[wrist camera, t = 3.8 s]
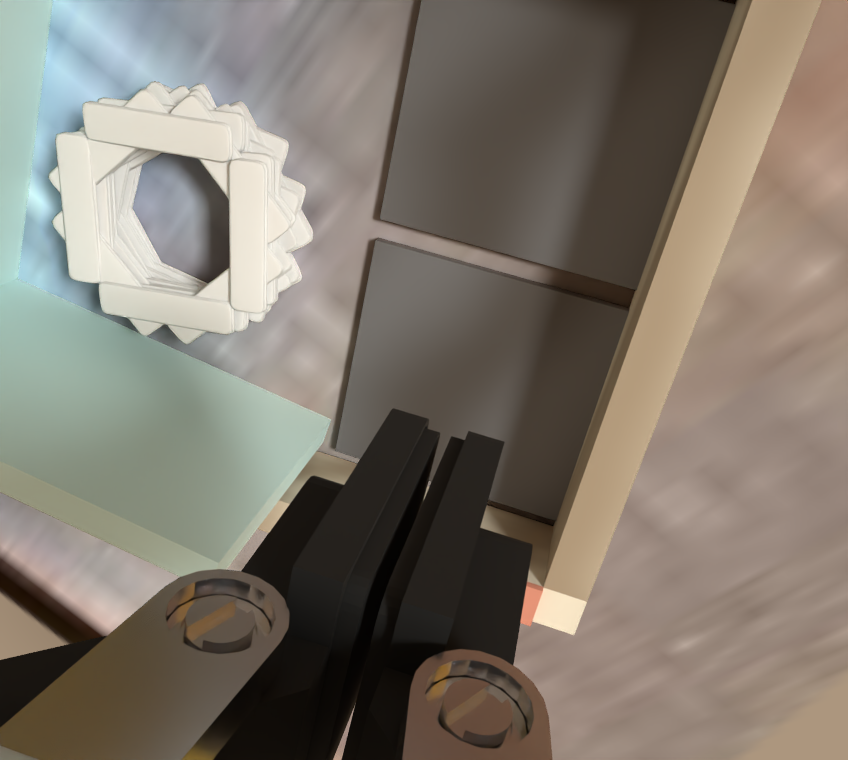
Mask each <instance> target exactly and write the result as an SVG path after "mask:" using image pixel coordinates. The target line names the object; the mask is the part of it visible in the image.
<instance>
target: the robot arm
mask: <svg viewBox="0 0 848 760" xmlns="http://www.w3.org/2000/svg"><path fill="white" fill-rule="evenodd" d="M428 425H429V419H428V418H424V417H421V416H418V415H414V414H411V413H408V412H404V411H401V410H398V409H394V408H393V409H392V410H391V411H390V413H389V414H388V416H387V417H386V419H385V421H384V422H383V424H382V425H381V427H380V429H379V430H378V432H377V433H376V435H375V437H374V438H373V440H372V441H371V443H370V444H369V446H368V448H367V449H366V451H365V452H364V454H363V456H362V457H361V459H360V460H359V462H358V464H357V465H356V467H355V468H354V470H353V471H352V473H351V475H350V476H349V478H348V479H347V481H346V483H345V484H344V485H343V484H340V483H337V482H334V481H331V480H327V479H324V478H321V477H318V476H315V475H314V476H311V477H310V478H309V479H308V480H307V481H306V482H305V484H304V485H303V487H302V488H301V489H300V491H299V492H298V493H297V495H296V496H295V498H294V499H293V500H292V502H291V503H290V505H289V506H288V507H287V509H286V510H285V511H284V513H283V514H282V516H281V517H280V518H279V520H278V521H277V522H276V524H275V525H274V527H273V528H272V529H271V531H270V532H269V534H268V535H267V536H266V538H265V539H264V540H263V542H262V543H261V545H260V546H259V547H258V549H257V550H256V552H255V553H254V554H253V556H252V557H251V558H250V560H249V561H248V563H247V564H246V565H245V567H244V568H243V569H242V571H234V570H225V569H214V570H203V571H197V572H194V573H191V574H188V575H185V576H182V577H179V578H178V579H176V580H175V581H173V582H171V583H170V584H168V585H167V586H165V587H164V588H163V589H162V590H160V591H159V592H158V593H157V594H156V595H155V596H153V597H152V598H151V599H150V600H149V601H148V602H146V603H145V604H144V605H143V606H142V607H141V608H139V609H138V610H137V611H136V612H135V613H134V614H132V615H131V616H130V617H129V618H128V619H127V620H125V621H124V622H123V623H122V624H121V625H120V626H118V627H117V628H116V629H115V630H114V631H113V632H111V633H110V634H109V635H108V636H104V637H99V638H95V639H90V640H86V641H82V642H77V643H73V644H69V645H64V646H60V647H55V648H51V649H47V650H42V651H38V652H33V653H29V654H25V655H20V656H16V657H12V658H7V659H3V660H0V760H333V758H334V756H335V753H336V751H337V748H338V746H339V743H340V741H341V738H342V736H343V733H344V731H345V728H346V726H347V723H348V721H349V718H350V716H351V713H352V711H353V708H354V706H355V708H354V712H353V716H352V720H351V724H350V728H349V732H348V736H347V741H346V745H345V749H344V753H343V757H342V760H552V749H551V737H550V726H549V716H548V713H547V709H546V705H545V702H544V699H543V697H542V696H541V694H540V692H539V691H538V689H537V688H536V686H535V685H534V683H533V682H532V681H531V680H530V679H529V678H528V677H527V676H526V675H525V674H523V673H522V672H521V671H520V670H519V669H518V668H516V667H515V666H513V663H514V657H515V651H516V645H517V639H518V633H519V627H520V621H521V615H522V609H523V603H524V597H525V591H526V585H527V579H528V573H529V567H530V562H531V556H532V548H533V545H532V544H531V543H527V542H524V541H521V540H518V539H515V538H512V537H508V536H505V535H502V534H499V533H496V532H493V531H489V530H486V529H483V528H480V527H481V523H482V520H483V516H484V513H485V509H486V506H487V502H488V499H489V495H490V492H491V488H492V485H493V481H494V478H495V474H496V471H497V467H498V464H499V460H500V457H501V453H502V450H503V446H504V443H505V442H504V441H501V440H497V439H494V438H491V437H487V436H484V435H481V434H477V433H474V432H471V431H468V433H467V436H466V438H465V440H463V439H460V438H457V437H453V436H451V438H450V440H449V442H448V445H447V447H446V449H445V452H444V454H443V456H442V459H441V461H440V463H439V466H438V468H437V470H436V473H435V475H434V477H433V480H432V482H431V484H430V487H429V489H428V491H427V494H426V496H425V493H426V489H427V485H428V481H429V477H430V473H431V469H432V465H433V462H434V458H435V454H436V450H437V446H438V442H439V438H440V432H437V431H433V430H430V429H428ZM424 496H425V498H424ZM423 500H424V501H423ZM355 703H356V704H355Z"/></svg>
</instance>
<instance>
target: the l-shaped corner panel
mask: <svg viewBox="0 0 848 760" xmlns="http://www.w3.org/2000/svg"><path fill="white" fill-rule="evenodd" d="M52 3H53V0H0V492H1V493H3V494H5V495H7V496H9V497H11V498H14V499H16V500H18V501H20V502H22V503H24V504H26V505H28V506H31V507H33V508H35V509H37V510H39V511H41V512H43V513H45V514H48V515H50V516H52V517H54V518H56V519H58V520H60V521H62V522H65V523H67V524H69V525H71V526H73V527H75V528H77V529H80V530H82V531H84V532H86V533H88V534H90V535H92V536H94V537H97V538H99V539H101V540H103V541H105V542H107V543H109V544H111V545H114V546H116V547H118V548H120V549H122V550H124V551H126V552H128V553H131V554H133V555H135V556H137V557H139V558H141V559H143V560H145V561H148V562H150V563H152V564H154V565H156V566H158V567H160V568H162V569H165V570H167V571H169V572H171V573H173V574H175V575H177V576H179V577H182V576H185V575H188V574H191V573H194V572H197V571H203V570H214V569H225V570H226V569H227V568H228V567H229V565H230V564H231V563H232V561H233V560H234V559H235V558H236V556H237V555H238V554H239V552H240V551H241V550H242V548H243V547H244V546H245V544H246V543H247V542H248V540H249V539H250V538H251V536H252V535H253V534H254V533H255V531H256V530H257V529H258V527H259V526H260V525H261V523H262V522H263V521H264V519H265V518H266V517H267V515H268V514H269V513H270V511H271V510H272V509H273V508H274V506H275V505H276V504H277V502H278V501H279V500H280V498H281V497H282V496H283V494H284V493H285V492H286V490H287V489H288V488H289V486H290V485H291V484H292V483H293V481H294V480H295V479H296V477H297V476H298V475H299V473H300V472H301V471H302V469H303V468H304V467H305V465H306V464H307V463H308V461H309V460H310V459H311V458H312V456H313V455H314V454H315V452H316V451H317V450H318V448H319V447H320V446H321V444H322V443H323V441H324V438H325V436H326V433H327V430H328V427H329V424H330V421H331V419H329V418H327V417H325V416H322V415H320V414H318V413H316V412H314V411H311V410H309V409H307V408H305V407H302V406H300V405H298V404H296V403H294V402H291V401H289V400H287V399H285V398H282V397H280V396H278V395H276V394H274V393H271V392H269V391H267V390H265V389H262V388H260V387H258V386H256V385H254V384H251V383H249V382H247V381H245V380H242V379H240V378H238V377H236V376H234V375H231V374H229V373H227V372H225V371H222V370H220V369H218V368H216V367H214V366H211V365H209V364H207V363H205V362H202V361H200V360H198V359H196V358H194V357H191V356H189V355H187V354H185V353H182V352H180V351H178V350H176V349H174V348H171V347H169V346H167V345H165V344H162V343H160V342H158V341H156V340H154V339H151V338H149V337H147V336H148V335H150V334H151V333H153V332H154V331H156V330H157V329H158V328H160V327H161V326H162V325H164V324H166V325H168V327H169V328H170V329H171V330H172V331H173V333H174V334H175V335H176V336H177V337H178V338H179V339H180V340H181V341H182V342H183V343H184V344H190V343H192V342H193V341H194V340H196V339H197V338H198V337H200V336H202V335H203V334H204V333H206V332H212V333H218V334H224V335H228V334H231V333H234V331H235V332H241V331H244V330H245V329H246V328H247V327H248V323H249V320H251V321H253V322H257V323H260V322H261V321H263V320H264V317H265V314H266V313H268V312H269V311H270V310H271V307H272V305H274V304H275V302H276V301H277V300H278V293H280V292H282V291H284V290H286V289H288V288H289V287H290V286H292V285H294V284H296V283H298V282H299V281H301V279H302V275H301V271H300V269H299V267H298V265H297V263H296V261H295V259H294V257H293V255H292V254H291V252H293V251H295V250H297V249H299V248H301V247H303V246H305V245H307V244H309V243H310V242H311V241H312V240H313V239H312V238H313V230H312V228H311V226H310V224H309V222H308V221H307V219H306V217H305V215H304V213H303V211H302V209H301V207H302V204H303V200H304V197H305V194H306V189H305V186H304V185H302V184H301V183H299V182H297V181H295V180H293V179H290V178H288V177H286V176H283V174H282V172H281V170H282V168H283V165H284V162H285V159H286V156H287V153H288V148H289V143H288V142H287V140H285V139H283V138H281V137H279V136H277V135H274V134H272V133H270V132H268V131H265V130H263V129H261V128H259V127H257V125H256V123H255V121H254V119H253V117H252V116H251V114H250V112H249V110H248V108H247V107H246V105H245V104H244V103H242V102H241V101H239V102H235V103H233V104H231V105H228V104H224V105H221V106H219V107H216V105H215V103H214V101H213V98H212V96H211V94H210V92H209V90H208V89H207V87H206V86H205V84H201V83H199V84H197V85H195V86H194V87H192V88H190V89H187V88H186V87H185V86H179V87H177V88H176V89H171V88H169V87H167V86H165V85H163V84H161V83H160V82H156V81H154V82H151V83H150V84H149V85H148V86H147V87H146V88H145V89H140V91H139V92H138V93H136V94H135V95H134V96H133V97H132V98H131V99H130V100H122V99H113V98H104V97H103V98H100V99H98V102H93V101H89V102H85V103H83V110H82V111H83V119H84V127H82V128H80V129H79V131H77V132H71V133H70V132H64V133H60V134H57V135H56V139H55V142H56V152H57V162H58V166H57V167H55V168H54V169H53V170H52V171H51V172H50V173H49V176H48V178H49V179H50V181H51V182H52V184H53V185H54V186H55V187H56V189H57V190H58V191H59V192H60V193H61V202H62V211H61V212H59V213H58V214H57V215H56V216H55V217H54V219H53V221H52V224H53V226H54V228H55V229H56V230H57V232H58V233H59V234H60V235H61V237H62V238H63V239H64V240H65V242H66V251H67V261H68V271H69V276H70V278H71V279H73V280H76V281H81V282H88V283H100V284H99V296H100V303H101V307H102V310H103V312H104V313H106V314H109V315H115V316H120V317H126V318H128V319H129V320H130V321H131V323H132V324H133V325H134V326H135V328H136V329H137V330H138V331H139V333H138V332H136V331H134V330H131V329H129V328H127V327H125V326H123V325H120V324H118V323H116V322H114V321H111V320H109V319H107V318H105V317H103V316H100V315H98V314H96V313H94V312H91V311H89V310H87V309H85V308H83V307H80V306H78V305H76V304H74V303H71V302H69V301H67V300H65V299H63V298H60V297H58V296H56V295H54V294H51V293H49V292H47V291H45V290H43V289H40V288H38V287H36V286H34V285H31V284H29V283H27V282H25V281H23V280H20V279H18V273H19V265H20V257H21V249H22V241H23V233H24V225H25V217H26V209H27V201H28V194H29V186H30V178H31V170H32V162H33V154H34V146H35V138H36V130H37V122H38V114H39V106H40V98H41V90H42V82H43V74H44V66H45V58H46V50H47V43H48V35H49V27H50V19H51V11H52ZM161 153H169V154H175V155H181V156H187V157H193V158H198V159H199V160H200V162H201V163H202V164H203V166H204V167H205V168H206V170H207V171H208V172H209V174H210V175H211V176H212V178H213V179H214V180H215V182H216V183H217V184H218V185H219V187H220V188H221V189H222V191H223V192H224V193H225V195H226V196H227V197H228V199H229V253H230V267H229V268H228V269H226V270H225V271H224V272H223V273H221V274H220V275H219V276H218V277H216V278H215V279H214V280H212V281H211V282H210V283H206V282H204V281H202V280H200V279H197V278H195V277H193V276H191V275H189V274H186V273H184V272H182V271H180V270H178V269H175V268H173V267H171V266H169V265H167V264H165V263H162V262H161V260H160V259H159V257H158V255H157V253H156V251H155V249H154V247H153V246H152V244H151V242H150V240H149V238H148V236H147V234H146V233H145V231H144V229H143V227H142V225H141V223H140V221H139V220H138V218H137V216H136V214H135V212H134V210H133V209H132V207H133V203H134V199H135V194H136V190H137V186H138V182H139V177H140V173H141V169H142V165H143V164H144V163H145V162H147V161H149V160H151V159H153V158H154V157H156V156H158V155H160V154H161Z"/></svg>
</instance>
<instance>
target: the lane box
mask: <svg viewBox="0 0 848 760" xmlns="http://www.w3.org/2000/svg"><path fill="white" fill-rule="evenodd" d="M821 1H822V0H736V3H735V4H731V3H727V2H723V1H718V0H421V6H420V11H419V16H418V21H417V26H416V32H415V37H414V42H413V47H412V53H411V58H410V63H409V68H408V73H407V79H406V84H405V89H404V94H403V100H402V105H401V110H400V115H399V121H398V126H397V131H396V136H395V141H394V147H393V152H392V157H391V162H390V168H389V173H388V178H387V183H386V188H385V194H384V199H383V204H382V209H381V215H380V219H382V220H385V221H389V222H392V223H396V224H400V225H403V226H407V227H410V228H414V229H418V230H421V231H425V232H428V233H432V234H436V235H439V236H443V237H446V238H450V239H454V240H457V241H461V242H464V243H468V244H472V245H475V246H479V247H482V248H486V249H490V250H493V251H497V252H500V253H504V254H508V255H511V256H515V257H518V258H522V259H526V260H529V261H533V262H536V263H540V264H544V265H547V266H551V267H554V268H558V269H562V270H565V271H569V272H572V273H576V274H580V275H583V276H587V277H590V278H594V279H598V280H601V281H605V282H608V283H612V284H616V285H619V286H623V287H626V288H630V289H634V290H635V293H634V296H633V299H632V302H631V305H630V308H627V307H623V306H620V305H616V304H613V303H609V302H606V301H602V300H598V299H595V298H591V297H588V296H584V295H581V294H577V293H574V292H570V291H566V290H563V289H559V288H556V287H552V286H549V285H545V284H541V283H538V282H534V281H531V280H527V279H524V278H520V277H517V276H513V275H509V274H506V273H502V272H499V271H495V270H492V269H488V268H484V267H481V266H477V265H474V264H470V263H467V262H463V261H460V260H456V259H452V258H449V257H445V256H442V255H438V254H435V253H431V252H427V251H424V250H420V249H417V248H413V247H410V246H406V245H403V244H399V243H395V242H392V241H388V240H385V239H381V238H378V239H377V240H376V241H375V246H374V251H373V256H372V262H371V267H370V272H369V277H368V283H367V288H366V293H365V298H364V304H363V309H362V314H361V319H360V324H359V330H358V335H357V340H356V345H355V351H354V356H353V361H352V366H351V371H350V377H349V382H348V387H347V392H346V398H345V403H344V408H343V413H342V419H341V424H340V429H339V434H338V439H337V445H336V450H335V451H337V452H340V453H343V454H346V455H350V456H353V457H356V458H359V459H361V457H362V456H363V454H364V452H365V451H366V449H367V448H368V446H369V444H370V443H371V441H372V440H373V438H374V437H375V435H376V433H377V432H378V430H379V429H380V427H381V425H382V424H383V422H384V421H385V419H386V417H387V416H388V414H389V413H390V411H391V410H392V409H393V408H394V409H398V410H401V411H404V412H408V413H411V414H414V415H418V416H421V417H424V418H428V419H429V425H428V429H430V430H433V431H437V432H440V438H439V442H438V446H437V450H436V454H435V458H434V462H433V465H432V469H431V473H430V477H429V481H431V482H432V480H433V477H434V475H435V473H436V470H437V468H438V466H439V463H440V461H441V459H442V456H443V454H444V452H445V449H446V447H447V445H448V442H449V440H450V438H451V436H453V437H457V438H460V439H463V440H465V438H466V436H467V433H468V431H471V432H474V433H477V434H481V435H484V436H487V437H491V438H494V439H497V440H501V441H504V442H505V443H504V446H503V450H502V453H501V457H500V460H499V464H498V467H497V471H496V474H495V478H494V481H493V485H492V488H491V492H490V495H489V499H488V500H491V501H494V502H497V503H501V504H504V505H507V506H510V507H513V508H516V509H519V510H523V511H526V512H529V513H532V514H535V515H538V516H541V517H545V518H548V519H551V520H554V521H555V523H554V526H551V525H547V524H544V523H541V522H538V521H535V520H532V519H529V518H525V517H522V516H519V515H516V514H513V513H510V512H507V511H503V510H500V509H497V508H494V507H491V506H488V505H487V506H486V509H485V513H484V516H483V520H482V523H481V527H480V528H483V529H486V530H489V531H493V532H496V533H499V534H502V535H505V536H508V537H512V538H515V539H518V540H521V541H524V542H527V543H531V544H532V545H533V548H532V556H531V562H530V567H529V573H528V579H527V585H526V591H525V597H524V603H523V609H522V615H521V621H520V623H522V624H525V625H528V626H531V623H532V621H533V622H536V623H539V624H542V625H545V626H548V627H551V628H554V629H557V630H560V631H563V632H566V633H569V634H572V635H574V634H575V631H576V629H577V626H578V623H579V621H580V618H581V616H582V613H583V611H584V608H585V605H586V603H587V600H588V598H589V595H590V593H591V590H592V588H593V585H594V582H595V580H596V577H597V575H598V572H599V570H600V567H601V565H602V562H603V559H604V557H605V554H606V552H607V549H608V547H609V544H610V541H611V539H612V536H613V534H614V531H615V529H616V526H617V524H618V521H619V518H620V516H621V513H622V511H623V508H624V506H625V503H626V500H627V498H628V495H629V493H630V490H631V488H632V485H633V483H634V480H635V477H636V475H637V472H638V470H639V467H640V465H641V462H642V460H643V457H644V454H645V452H646V449H647V447H648V444H649V442H650V439H651V436H652V434H653V431H654V429H655V426H656V424H657V421H658V419H659V416H660V413H661V411H662V408H663V406H664V403H665V401H666V398H667V395H668V393H669V390H670V388H671V385H672V383H673V380H674V378H675V375H676V372H677V370H678V367H679V365H680V362H681V360H682V357H683V355H684V352H685V349H686V347H687V344H688V342H689V339H690V337H691V334H692V331H693V329H694V326H695V324H696V321H697V319H698V316H699V314H700V311H701V308H702V306H703V303H704V301H705V298H706V296H707V293H708V290H709V288H710V285H711V283H712V280H713V278H714V275H715V273H716V270H717V267H718V265H719V262H720V260H721V257H722V255H723V252H724V250H725V247H726V244H727V242H728V239H729V237H730V234H731V232H732V229H733V226H734V224H735V221H736V219H737V216H738V214H739V211H740V209H741V206H742V203H743V201H744V198H745V196H746V193H747V191H748V188H749V186H750V183H751V180H752V178H753V175H754V173H755V170H756V168H757V165H758V162H759V160H760V157H761V155H762V152H763V150H764V147H765V145H766V142H767V139H768V137H769V134H770V132H771V129H772V127H773V124H774V121H775V119H776V116H777V114H778V111H779V109H780V106H781V104H782V101H783V98H784V96H785V93H786V91H787V88H788V86H789V83H790V81H791V78H792V75H793V73H794V70H795V68H796V65H797V63H798V60H799V57H800V55H801V52H802V50H803V47H804V45H805V42H806V40H807V37H808V34H809V32H810V29H811V27H812V24H813V22H814V19H815V16H816V14H817V11H818V9H819V6H820V4H821ZM356 465H357V464H356V463H353V462H350V461H347V460H344V459H340V458H337V457H334V456H331V455H328V454H325V453H322V452H318V451H316V452H315V454H314V455H313V456H312V458H311V459H310V460H309V461H308V463H307V464H306V465H305V467H304V468H303V469H302V471H301V472H300V473H299V475H298V476H297V477H296V479H295V480H294V481H293V483H292V484H291V485H290V486H289V488H288V489H287V490H286V492H285V493H284V494H283V496H282V497H281V498H280V500H279V501H278V502H277V504H276V505H275V506H274V508H273V509H272V510H271V511H270V513H269V514H268V515H267V517H266V518H265V519H264V521H263V522H262V523H261V525H260V526H259V527H258V529H259V530H262V531H265V532H268V533H269V532H270V531H271V529H272V528H273V527H274V525H275V524H276V522H277V521H278V520H279V518H280V517H281V516H282V514H283V513H284V511H285V510H286V509H287V507H288V506H289V505H290V503H291V502H292V500H293V499H294V498H295V496H296V495H297V493H298V492H299V491H300V489H301V488H302V487H303V485H304V484H305V482H306V481H307V480H308V479H309V478H310V477H311V476H314V475H315V476H318V477H321V478H324V479H327V480H331V481H334V482H337V483H340V484H343V485H344V484H345V483H346V481H347V479H348V478H349V476H350V475H351V473H352V471H353V470H354V468H355V467H356ZM428 489H429V487H428V486H427V489H426V493H425V496H426V494H427V491H428ZM425 496H424V498H425ZM423 501H424V500H423Z"/></svg>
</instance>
